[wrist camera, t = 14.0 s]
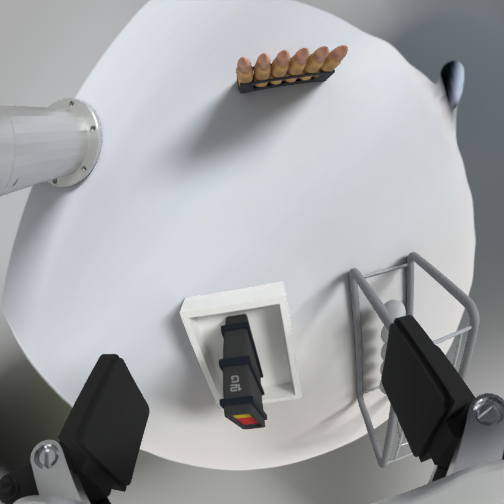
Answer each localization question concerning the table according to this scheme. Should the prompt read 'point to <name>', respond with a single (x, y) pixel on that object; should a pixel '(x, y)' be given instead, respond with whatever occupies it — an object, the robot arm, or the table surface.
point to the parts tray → (263, 331)
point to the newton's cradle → (388, 316)
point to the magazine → (241, 375)
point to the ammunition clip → (288, 68)
